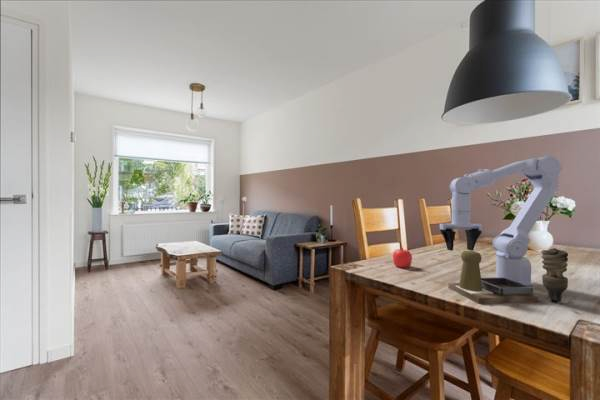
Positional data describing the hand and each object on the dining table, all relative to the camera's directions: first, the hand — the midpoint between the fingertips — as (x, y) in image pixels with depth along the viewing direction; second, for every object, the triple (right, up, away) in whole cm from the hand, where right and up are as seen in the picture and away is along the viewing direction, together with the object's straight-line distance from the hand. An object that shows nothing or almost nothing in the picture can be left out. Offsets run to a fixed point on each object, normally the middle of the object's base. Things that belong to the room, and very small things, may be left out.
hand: (460, 250), depth 97 cm
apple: (-14, -10, +18) cm, 25 cm away
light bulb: (+14, -11, -20) cm, 27 cm away
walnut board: (0, -11, -15) cm, 18 cm away
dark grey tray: (+4, -9, -15) cm, 18 cm away
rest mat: (-5, -9, -16) cm, 19 cm away
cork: (-5, -9, -14) cm, 18 cm away
